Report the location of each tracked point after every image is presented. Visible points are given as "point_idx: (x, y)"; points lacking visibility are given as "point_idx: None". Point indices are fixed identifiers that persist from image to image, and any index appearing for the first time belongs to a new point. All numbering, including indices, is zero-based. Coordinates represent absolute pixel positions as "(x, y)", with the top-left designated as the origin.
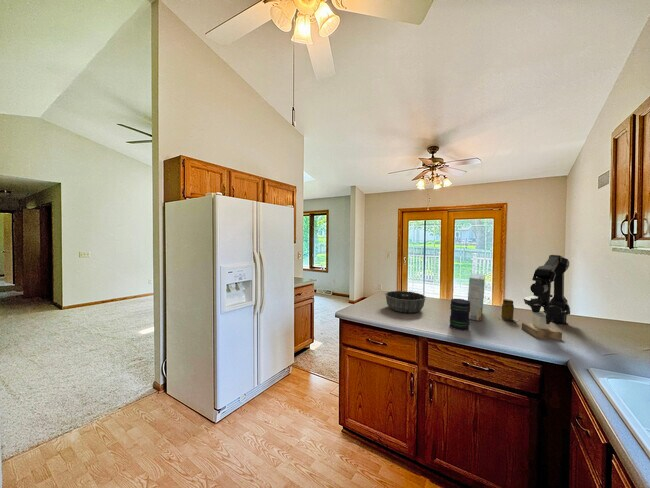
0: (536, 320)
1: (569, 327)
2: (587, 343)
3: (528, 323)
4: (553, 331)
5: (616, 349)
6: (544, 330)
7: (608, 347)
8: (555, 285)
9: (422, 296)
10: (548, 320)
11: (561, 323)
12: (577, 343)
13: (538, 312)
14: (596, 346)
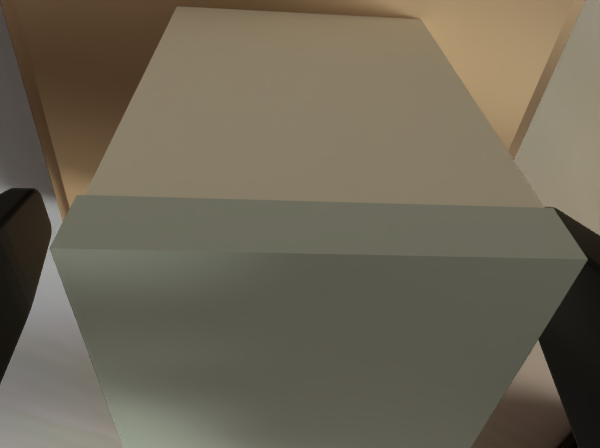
0: (278, 88)
1: (483, 442)
2: (86, 359)
3: (542, 2)
4: (72, 194)
5: (26, 439)
6: (63, 54)
7: (49, 423)
8: None
9: None
10: None
11: (566, 445)
12: (40, 289)
13: (497, 403)
14: (29, 375)
